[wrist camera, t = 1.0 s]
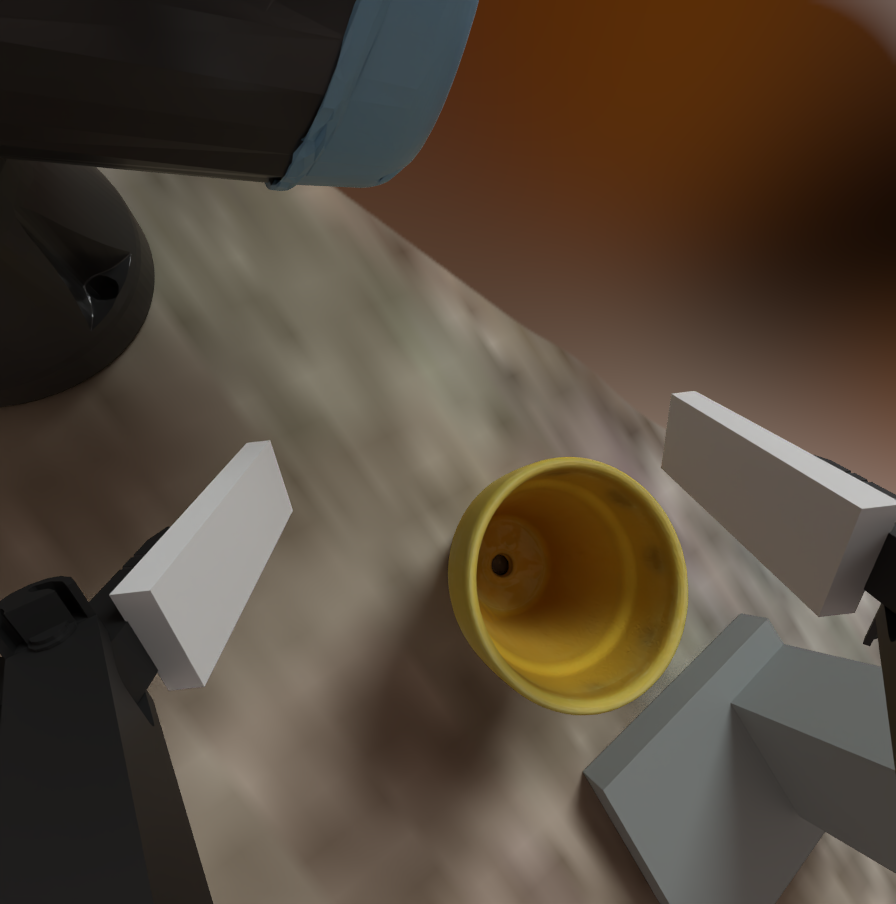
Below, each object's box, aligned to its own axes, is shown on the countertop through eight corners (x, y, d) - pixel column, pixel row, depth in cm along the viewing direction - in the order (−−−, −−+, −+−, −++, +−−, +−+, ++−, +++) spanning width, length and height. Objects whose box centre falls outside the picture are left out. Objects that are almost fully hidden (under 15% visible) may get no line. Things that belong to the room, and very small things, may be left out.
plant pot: (433, 674, 24) (497, 758, 15) (403, 496, 26) (444, 473, 16) (587, 629, 27) (719, 675, 18) (552, 472, 29) (657, 440, 19)
